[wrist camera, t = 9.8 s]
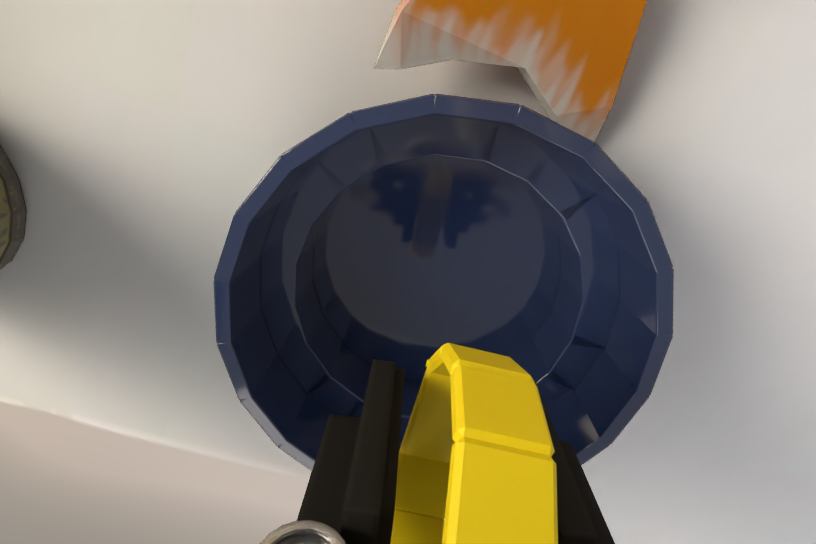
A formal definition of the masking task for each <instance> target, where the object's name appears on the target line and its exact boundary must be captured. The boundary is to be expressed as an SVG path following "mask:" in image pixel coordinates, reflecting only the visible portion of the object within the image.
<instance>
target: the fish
mask: <svg viewBox="0 0 816 544" xmlns="http://www.w3.org/2000/svg"><path fill="white" fill-rule="evenodd" d="M646 2H647V0H403V1H402V2H401V3H400V4H399V6H398V7H397V8H396V11H395V13H394V16H393V19H392V21H391V24H390V27H389V29H388V32H387V35H386V37H385V40H384V42H383V45H382V48H381V50H380V53H379V56H378V58H377V61H376V63H375V66H374V68H375V69H404V68H410V67H415V66H420V65H426V64H431V63H436V62H442V61H447V60H460V61H469V62H477V63H486V64H495V65H503V66H512V67H517V68H518V70H519V71H520V73H521V75H522V76H523V78H524V79H525V81H526V82H527V84H528V85H529V87H530V88H531V90H532V91H533V93H534V94H535V96H536V97H537V99H538V100H539V102H540V104H541V105H542V107H543V108H544V110H545V111H546V113H547V115H548V117H549V118H550V120H552V121H554V122H556V123H558V124H560V125H562V126H564V127H566V128H568V129H570V130H572V131H574V132H576V133H578V134H580V135H582V136H584V137H586V138H588V139H590V140H592V141H593V142H595V140H596V138H597V136H598V134H599V132H600V130H601V128H602V126H603V124H604V121H605V119H606V117H607V115H608V113H609V111H610V109H611V107H612V105H613V102H614V99H615V96H616V93H617V90H618V87H619V84H620V81H621V78H622V75H623V72H624V69H625V66H626V63H627V60H628V57H629V53H630V50H631V47H632V44H633V41H634V38H635V35H636V32H637V29H638V26H639V23H640V20H641V17H642V14H643V11H644V8H645V5H646Z"/></svg>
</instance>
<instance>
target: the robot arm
mask: <svg viewBox="0 0 816 544" xmlns="http://www.w3.org/2000/svg"><path fill="white" fill-rule="evenodd" d="M404 373H405V369H396V362H392V361H383V360H375V359H373V361H372V365H371V370H370V375H369V380H368V385H367V390H366V395H365V400H364V405H363V410H362V415H361V418H360V417H351V416H342V415H334V414H330V415H329V418H328V420H327V424H326V427H325V430H324V433H323V437H322V440H321V443H320V447H319V450H318V453H317V456H316V460H315V463H314V466H313V470H312V473H311V476H310V479H309V483H308V486H307V489H306V493H305V496H304V499H303V502H302V506H301V509H300V512H299V515H298V519H297V521H295V522H291V523H288V524H285V525H282V526H281V527H279V528H277V529H276V530H274V531H272V532H271V533H269V534H268V535H267V536H266V538H265V539H264V540H263V541H262V542H261V543H260V544H390V542H391V535H392V528H393V520H394V510H395V499H396V485H397V471H398V457H399V443H400V429H401V415H402V401H403V387H404ZM532 379H533V378H532ZM533 380H534V379H533ZM534 383H535V385H536V386H537V384H536V381H535V380H534ZM537 388H538V386H537ZM538 392H539V395H540V399H541V403H542V407H543V410H544V414H545V418H546V421H547V425H548V429H549V432H550V436H551V440H552V444H553V447H554V451H555V452H554V453H553V455H552V457H551V458H552V459H553V460H554V462H555V463H556V472H557V516H558V544H615V543H614V541H613V538H612V536H611V534H610V532H609V529H608V527H607V525H606V522H605V520H604V518H603V515H602V513H601V511H600V508H599V506H598V504H597V502H596V499H595V497H594V495H593V492H592V490H591V488H590V485H589V483H588V481H587V479H586V476H585V474H584V472H583V469H582V467H581V465H580V462H579V460H578V458H577V456H576V453H575V451H574V449H573V447H572V446H571V444H570V443H568V442H564V441H559V439H558V436H557V434H556V431H555V429H554V426H553V424H552V421H551V419H550V416H549V414H548V411H547V409H546V406H545V404H544V401H543V399H542V396H541V394H540V391H539V389H538Z"/></svg>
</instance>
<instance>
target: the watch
mask: <svg viewBox="0 0 816 544" xmlns="http://www.w3.org/2000/svg"><path fill="white" fill-rule="evenodd" d="M425 367H427V368H426V371H425V374H424V377H423V380H422V383H421V386H420V389H419V392H418V395H417V398H416V401H415V404H414V407H413V410H412V414H411V417H410V420H409V423H408V426H407V429H406V432H405V435H404V438H403V441H402V444H401V447H400V450H399V457H398V471H397V485H396V499H395V510H394V520H393V528H392V535H391V542H390V544H558V516H557V472H556V463H555V462H554V460H553V459H552V458H551V457H552V455H553V453H554V452H555V451H554V447H553V444H552V440H551V436H550V432H549V429H548V425H547V421H546V418H545V414H544V410H543V407H542V403H541V399H540V395H539V392H538V388H537V386H536V385H535V383H534V380H533V379H532V377H531V375H529V374H528V373H527V372H526V371H525V370H524V369H523V368H522V367H520V366H519V365H518V364H517V363H516V362H515V361H514V360H513V359H511V358H510V357H508V356H503V355H499V354H495V353H491V352H486V351H482V350H478V349H473V348H469V347H465V346H460V345H456V344H452V343H446V344H444V345H443V346H441V347H440V348H439V349H438V350H437V351H436V352H435V353H434V354H433V355H432V356H431V358H430V359H429V360H428V359H427V362H426V365H425ZM444 519H445V520H444Z"/></svg>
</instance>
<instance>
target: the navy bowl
mask: <svg viewBox="0 0 816 544" xmlns="http://www.w3.org/2000/svg"><path fill="white" fill-rule="evenodd" d="M673 277H674V270H673V265H672V262H671V259H670V257H669V254H668V252H667V249H666V246H665V244H664V241H663V238H662V236H661V233H660V231H659V228H658V225H657V223H656V220H655V217H654V215H653V212H652V209H651V207H650V204H649V202H648V201H647V199H646V197H645V196H644V195H643V194H642V193H641V192H640V191H639V190H638V189H637V187H636V186H635V185H634V184H633V183H632V182H631V181H630V180H629V179H628V178H627V176H626V175H625V174H624V173H623V172H622V171H621V170H620V169H619V168H618V167H617V166H616V164H615V163H614V162H613V161H612V160H611V159H610V158H609V157H608V156H607V155H606V153H605V152H604V151H603V150H602V149H601V148H600V147H599V146H598V145H597V144H596V143H594V142H593V141H592V140H590V139H588V138H586V137H584V136H582V135H580V134H578V133H576V132H574V131H572V130H570V129H568V128H566V127H564V126H562V125H560V124H558V123H556V122H554V121H552V120H550V119H549V118H547V117H545V116H543V115H541V114H539V113H537V112H535V111H533V110H531V109H529V108H527V107H525V106H523V105H519V104H514V103H506V102H498V101H490V100H482V99H474V98H466V97H458V96H450V95H442V94H435V95H434V94H430V95H425V96H421V97H416V98H412V99H407V100H402V101H398V102H393V103H388V104H384V105H379V106H375V107H370V108H365V109H361V110H356V111H352V112H351V113H347V114H346V115H344V116H343V117H341V118H339V119H338V120H336V121H334V122H333V123H331V124H330V125H328V126H326V127H325V128H323V129H321V130H320V131H318V132H317V133H315V134H313V135H312V136H310V137H308V138H307V139H305V140H304V141H302V142H300V143H299V144H297V145H296V146H294V147H292V148H291V149H289V150H287V151H286V152H284V153H283V154H282V155H281V156H279V158H278V159H277V160H276V161H275V163H274V164H273V165H272V166H271V168H270V169H269V170H268V171H267V173H266V174H265V175H264V177H263V178H262V179H261V180H260V182H259V183H258V184H257V185H256V187H255V188H254V189H253V191H252V192H251V193H250V194H249V196H248V197H247V198H246V199H245V201H244V202H243V203H242V204H241V206H240V207H239V208H238V210H237V211H236V213H235V215H234V216H233V220H232V223H231V226H230V229H229V232H228V235H227V238H226V241H225V245H224V248H223V251H222V254H221V257H220V260H219V263H218V267H217V270H216V273H215V276H214V300H215V322H216V342H217V346H218V349H219V351H220V354H221V356H222V358H223V361H224V363H225V366H226V368H227V371H228V373H229V376H230V378H231V381H232V383H233V386H234V388H235V391H236V393H237V396H238V398H239V400H240V402H241V403H242V404H243V406H244V407H245V408H246V409H247V410H248V412H249V413H250V414H251V415H252V417H253V418H254V419H255V420H256V421H257V423H258V424H259V425H260V426H261V427H262V429H263V430H264V431H265V432H266V434H267V435H268V436H269V437H270V438H271V440H272V441H273V442H274V443H275V445H276V446H278V448H280V449H281V450H283V451H284V452H286V453H287V454H288V455H290V456H291V457H293V458H294V459H296V460H297V461H298V462H300V463H301V464H303V465H304V466H306V467H307V468H308V469H310V470H311V471H312V470H313V466H314V463H315V460H316V456H317V453H318V450H319V447H320V443H321V440H322V437H323V433H324V430H325V427H326V424H327V420H328V418H329V415H330V414H334V415H342V416H351V417H360V418H361V415H362V410H363V405H364V400H365V395H366V390H367V385H368V380H369V375H370V370H371V365H372V361H373V359H375V360H383V361H392V362H396V369H405V373H404V387H403V401H402V415H401V429H400V443H399V450H400V447H401V444H402V441H403V438H404V435H405V432H406V429H407V426H408V423H409V420H410V417H411V414H412V410H413V407H414V404H415V401H416V398H417V395H418V392H419V389H420V386H421V383H422V380H423V377H424V374H425V371H426V368H427V367H425V365H426V362H427V359H428V360H429V359H430V358H431V356H432V355H433V354H434V353H435V352H436V351H437V350H438V349H439V348H440V347H441V346H443V345H444V344H446V343H452V344H456V345H460V346H465V347H469V348H473V349H478V350H482V351H486V352H491V353H495V354H499V355H503V356H508V357H510V358H511V359H513V360H514V361H515V362H516V363H517V364H518V365H519V366H520V367H522V368H523V369H524V370H525V371H526V372H527V373H528V374H529V375H531V377H532V378H533V379H534V380H535V381H536V384H537V386H538V389H539V391H540V394H541V396H542V399H543V401H544V404H545V406H546V409H547V411H548V414H549V416H550V419H551V421H552V424H553V426H554V429H555V431H556V434H557V436H558V439H559V441H564V442H568V443H570V444H571V446H572V447H573V449H574V451H575V453H576V456H577V458H578V460H579V462H580V465H582V464H584V463H585V462H587V461H588V460H590V459H591V458H592V457H594V456H595V455H597V454H598V453H600V452H601V451H602V450H604V449H605V448H607V447H608V446H609V445H610V444H612V443H613V441H614V440H615V439H616V438H617V436H618V435H619V434H620V433H621V431H622V430H623V429H624V428H625V426H626V425H627V424H628V423H629V421H630V420H631V419H632V418H633V416H634V415H635V414H636V413H637V412H638V410H639V409H640V408H641V407H642V405H643V404H644V403H645V402H646V400H647V399H648V398H649V395H651V392H652V390H653V387H654V384H655V382H656V379H657V377H658V374H659V371H660V369H661V366H662V363H663V361H664V358H665V355H666V353H667V350H668V347H669V345H670V342H671V339H672V337H673V336H672V335H673Z"/></svg>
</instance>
